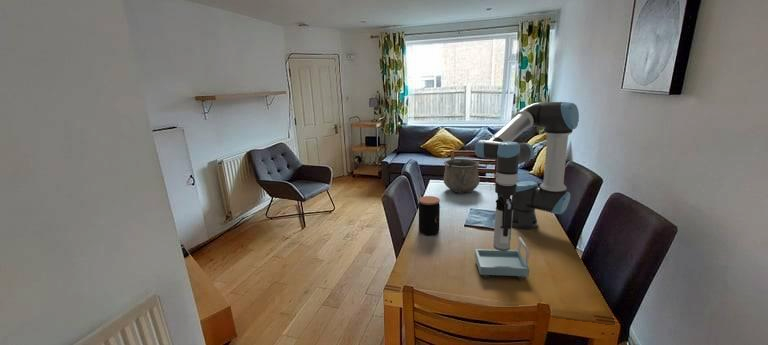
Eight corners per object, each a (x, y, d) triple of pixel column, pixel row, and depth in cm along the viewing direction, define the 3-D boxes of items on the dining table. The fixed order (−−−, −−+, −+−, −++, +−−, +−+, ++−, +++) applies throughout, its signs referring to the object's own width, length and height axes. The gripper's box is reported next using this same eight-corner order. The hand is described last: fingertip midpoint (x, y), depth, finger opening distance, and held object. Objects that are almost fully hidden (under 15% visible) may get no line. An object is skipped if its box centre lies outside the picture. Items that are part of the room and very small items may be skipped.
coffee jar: (438, 237, 159) (439, 203, 155) (417, 235, 161) (417, 202, 157) (439, 228, 169) (440, 196, 165) (419, 226, 171) (419, 195, 167)
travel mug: (489, 244, 129) (492, 198, 124) (505, 243, 130) (509, 197, 125) (496, 252, 123) (499, 203, 118) (512, 250, 124) (516, 202, 119)
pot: (443, 196, 217) (444, 166, 212) (443, 185, 240) (443, 158, 234) (481, 197, 213) (482, 166, 208) (477, 186, 236) (478, 158, 230)
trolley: (517, 261, 135) (520, 235, 132) (528, 281, 122) (531, 252, 118) (474, 260, 137) (475, 234, 134) (479, 279, 124) (481, 250, 120)
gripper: (490, 176, 129) (487, 228, 135) (501, 191, 111) (497, 250, 117) (509, 176, 128) (505, 228, 134) (524, 191, 110) (518, 251, 116)
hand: (501, 238), depth 126 cm, fingers closed on travel mug, 6 cm apart
